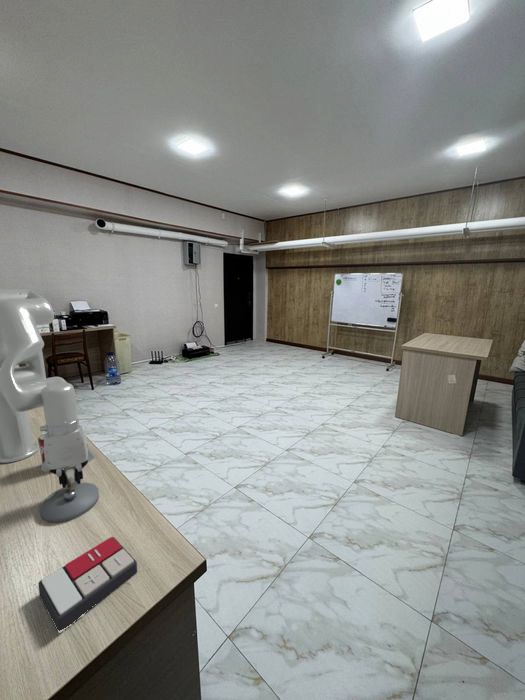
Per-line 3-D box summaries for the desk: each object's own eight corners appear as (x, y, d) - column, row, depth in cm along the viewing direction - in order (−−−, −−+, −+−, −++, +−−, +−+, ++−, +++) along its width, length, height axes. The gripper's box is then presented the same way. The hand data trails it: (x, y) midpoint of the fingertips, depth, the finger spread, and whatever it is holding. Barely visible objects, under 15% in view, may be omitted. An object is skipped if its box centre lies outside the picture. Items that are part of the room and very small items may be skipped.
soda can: (56, 474, 96) (50, 441, 94) (37, 471, 98) (31, 438, 95) (74, 461, 103) (69, 430, 101) (56, 458, 105) (51, 428, 102)
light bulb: (75, 499, 83) (72, 477, 81) (63, 502, 81) (59, 480, 80) (80, 481, 90) (77, 461, 88) (68, 483, 89) (65, 463, 87)
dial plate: (49, 493, 88) (48, 488, 87) (101, 482, 93) (101, 477, 92) (33, 529, 75) (32, 524, 75) (95, 514, 80) (94, 509, 80)
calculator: (137, 559, 64) (57, 616, 52) (138, 575, 64) (59, 636, 53) (113, 533, 70) (37, 578, 58) (113, 548, 71) (39, 596, 59)
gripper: (24, 439, 76) (35, 500, 80) (96, 425, 83) (103, 482, 87) (30, 427, 82) (40, 484, 86) (96, 415, 90) (103, 468, 94)
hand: (72, 482), depth 87 cm, fingers open, 3 cm apart
